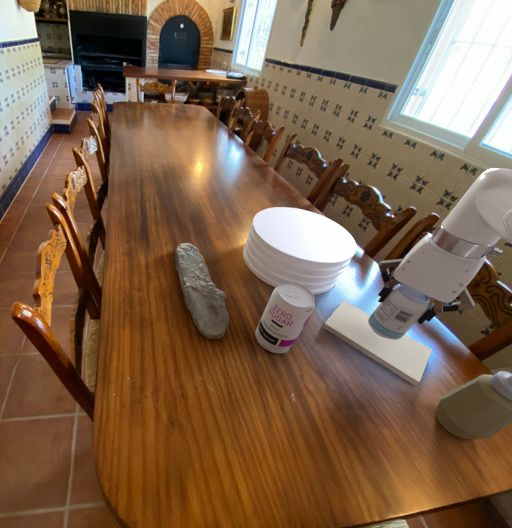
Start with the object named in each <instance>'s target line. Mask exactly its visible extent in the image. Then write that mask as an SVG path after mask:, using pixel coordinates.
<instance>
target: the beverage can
mask: <svg viewBox="0 0 512 528" xmlns="http://www.w3.org/2000/svg"><path fill="white" fill-rule="evenodd" d="M431 301H432V297H430V296H427V295H425V294H423V293H421V292H419V291H417V290H415V289H413V288H411V287H409V286H407V285H405V284H403V283H400V284H399V285H398V286H394V287H393V289H392V290H391V292H390V293H389V294H388V295H387V297H386V298H385V299H384V300H383V302H382V303H381V302H379V304H378V306H377V307H376V308H375V309H374V311H373V312H372V313H371V314H370V315H371V316H370V317H369V319H368V323H369V325H370V327H371V328H372V330H373V331H374V332H375V333H376V334H378V335H379V336H381V337H383V338H387V339H391V340H398V339H400V338H401V337H402V336H403V335H404V334H405V335H406V333H408V331H409V330H410V329H411V328H413V326H414V325H415V324H416V323H418V320H419V319H420V318H421V317H422V316H423V315H424V314H425V313H426V312H427V310H428V309H429V306H430V303H431Z"/></svg>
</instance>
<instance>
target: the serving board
mask: <svg viewBox="0 0 512 528" xmlns="http://www.w3.org/2000/svg"><path fill="white" fill-rule="evenodd" d="M371 315H372V314H370V313H367V312H366V311H364V310H362V309H360V308H359V307H357V306H355V305H354V304H352V303H350V302H349V301H346V300H345V299H343V300H342V301H341V302H340V303H339V305H338V306H337V307H336V308H335V310H334V311H333V312H332V313H331V314H330V316H329V317H328V318H327V319H326V320H325V321H324V322H323V324H322V328H323V329H325V330H326V331H328V332H329V333H331V334H333V336H336V337H337V338H339V339H340V340H342V341H344V342H345V343H346V344H348V345H349V346H351V347H353V348H354V349H355V350H358V351H359V352H361V353H363V354H364V355H365V356H367V357H369V358H370V359H371V360H374V362H376V363H378V364H380V365H381V366H383V367H384V368H386V369H388V370H389V371H391V372H392V373H393V374H395V375H397V376H398V377H400V378H402V379H403V380H405V381H406V382H408V383H410V384H411V385H413V386H414V387H416V386H417V385H418V384H420V382H421V380H422V377H423V375H424V372H425V370H426V367H427V364H428V362H429V360H430V357H431V354H432V352H433V349H432V348H430V347H428V346H427V345H425V344H422V343H421V342H419V341H417V340H415V339H414V338H413V337H411V336H409V335H407V334H406V333H405V334H404V335H403V336H402V337H401V338H400V339H398V340H391V339H387V338H383V337H381V336H379V335H378V334H376V333H375V332H374V331H373V330H372V328H371V327H370V325H369V323H368V319H369V317H370V316H371Z"/></svg>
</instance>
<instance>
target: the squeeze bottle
mask: <svg viewBox="0 0 512 528" xmlns="http://www.w3.org/2000/svg"><path fill="white" fill-rule="evenodd" d="M435 416H436V420H437V421H438V422H439V423H440V425H441V426H442V427H443V428H444V429H445V430H446V431H447V432H449V433H450V434H452V435H453V436H455V437H457V438H459V439H463V440H479V439H480V440H482V439H490V438H492V437H494V436H496V435H497V434H498V433H500V432H501V431H503V430H504V429H506V428H507V427H508V426H509V425H511V423H512V372H509V371H503V370H501V371H498V372H496V373H495V374H494V375H492V374H485V373H483V374H481V375H479V376H477V377H475V378H473V379H471V380H469V381H467V382H465V383H463V384H461V385H459V386H458V387H455V388H454V389H451V390H449V391H447V392H445V393H444V394H442V395H441V397H440V400H439V402H438V404H437V407H436V409H435Z"/></svg>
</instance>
